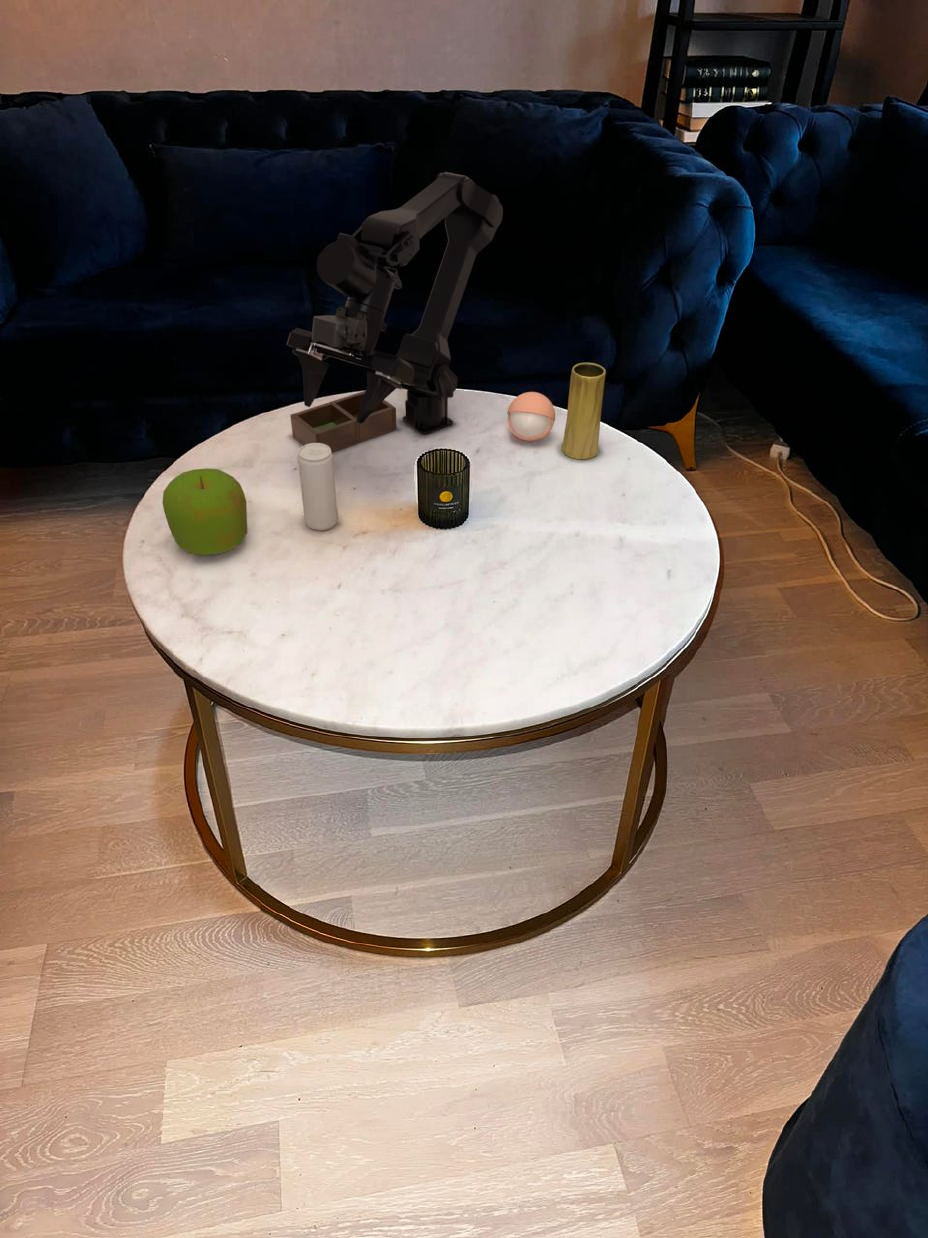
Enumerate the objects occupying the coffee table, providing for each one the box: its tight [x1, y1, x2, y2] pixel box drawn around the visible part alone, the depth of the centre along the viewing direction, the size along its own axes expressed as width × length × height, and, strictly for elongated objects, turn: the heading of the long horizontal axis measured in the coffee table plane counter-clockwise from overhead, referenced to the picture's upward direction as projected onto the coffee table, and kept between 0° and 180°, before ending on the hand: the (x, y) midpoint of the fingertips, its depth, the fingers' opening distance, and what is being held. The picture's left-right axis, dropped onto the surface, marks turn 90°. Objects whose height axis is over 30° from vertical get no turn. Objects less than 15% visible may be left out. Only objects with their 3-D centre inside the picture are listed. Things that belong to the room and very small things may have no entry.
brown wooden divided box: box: [290, 390, 397, 453], centre depth 156 cm, size 15×8×4 cm, turn 127°
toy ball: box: [506, 391, 556, 442], centre depth 155 cm, size 8×8×8 cm
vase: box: [560, 362, 607, 460], centre depth 150 cm, size 6×6×14 cm
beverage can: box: [297, 443, 339, 531], centre depth 134 cm, size 5×5×12 cm
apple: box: [161, 467, 248, 556], centre depth 130 cm, size 11×11×11 cm
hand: (332, 414), depth 135 cm, fingers open, 9 cm apart
